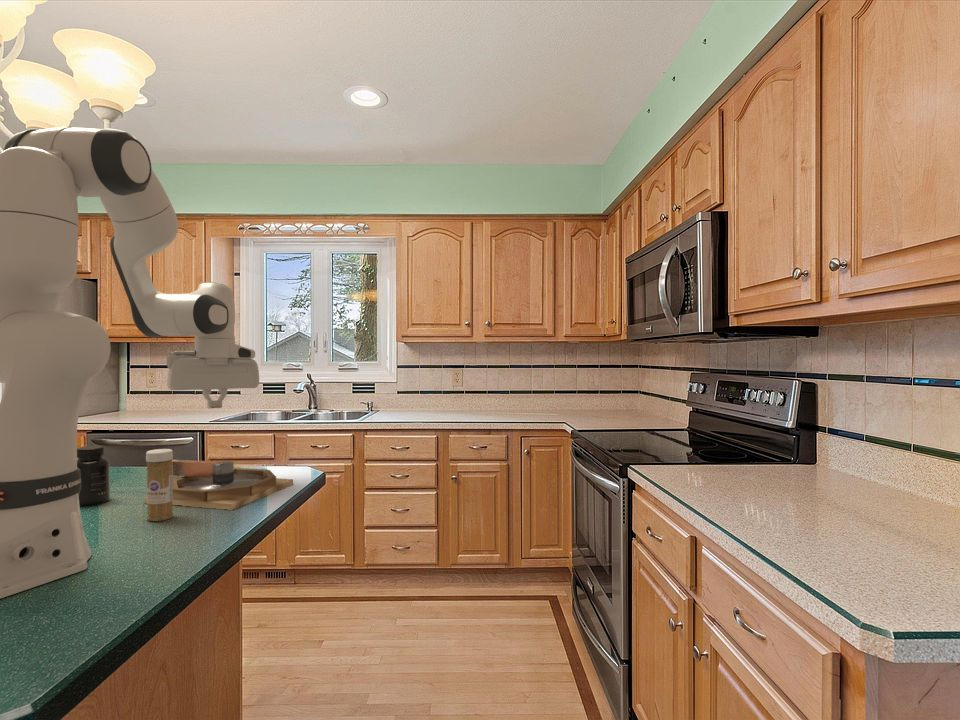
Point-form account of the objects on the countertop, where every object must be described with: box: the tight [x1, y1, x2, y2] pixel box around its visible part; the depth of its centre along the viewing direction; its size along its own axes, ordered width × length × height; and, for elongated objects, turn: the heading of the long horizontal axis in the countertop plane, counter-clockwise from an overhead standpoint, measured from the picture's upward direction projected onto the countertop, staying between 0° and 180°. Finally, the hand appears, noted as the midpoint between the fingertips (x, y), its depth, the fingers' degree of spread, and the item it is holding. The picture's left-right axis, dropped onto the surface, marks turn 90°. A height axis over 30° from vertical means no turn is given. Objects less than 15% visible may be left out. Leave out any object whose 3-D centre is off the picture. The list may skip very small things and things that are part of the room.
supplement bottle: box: [77, 445, 111, 507], centre depth 119 cm, size 7×7×12 cm
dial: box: [173, 459, 263, 490], centre depth 127 cm, size 21×17×6 cm
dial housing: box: [143, 467, 294, 511], centre depth 127 cm, size 22×22×3 cm
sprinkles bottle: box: [145, 448, 174, 522], centre depth 108 cm, size 5×5×13 cm
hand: (214, 408), depth 133 cm, fingers closed
